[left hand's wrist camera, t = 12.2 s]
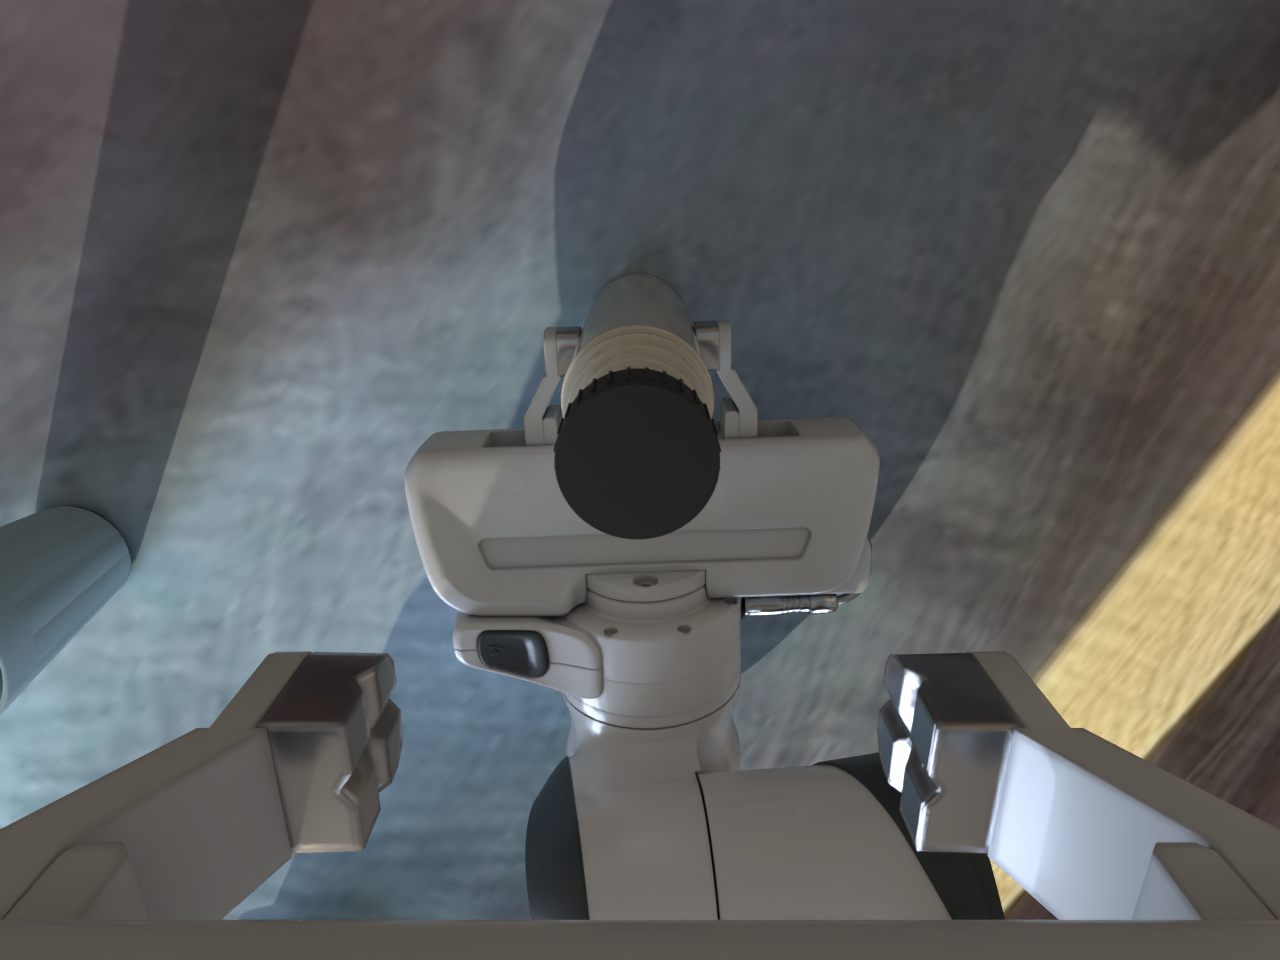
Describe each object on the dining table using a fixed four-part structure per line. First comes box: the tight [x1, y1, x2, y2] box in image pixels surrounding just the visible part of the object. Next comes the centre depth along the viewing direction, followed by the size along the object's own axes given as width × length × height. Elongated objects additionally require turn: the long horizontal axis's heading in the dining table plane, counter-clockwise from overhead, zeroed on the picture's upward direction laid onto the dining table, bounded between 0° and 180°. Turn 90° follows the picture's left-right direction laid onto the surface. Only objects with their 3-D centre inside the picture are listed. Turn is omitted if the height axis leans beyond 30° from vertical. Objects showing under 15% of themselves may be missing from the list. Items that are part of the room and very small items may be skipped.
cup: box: [0, 506, 131, 715], centre depth 37 cm, size 8×8×10 cm
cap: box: [553, 367, 721, 540], centre depth 20 cm, size 4×4×2 cm
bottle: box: [561, 274, 714, 419], centre depth 29 cm, size 5×5×20 cm
